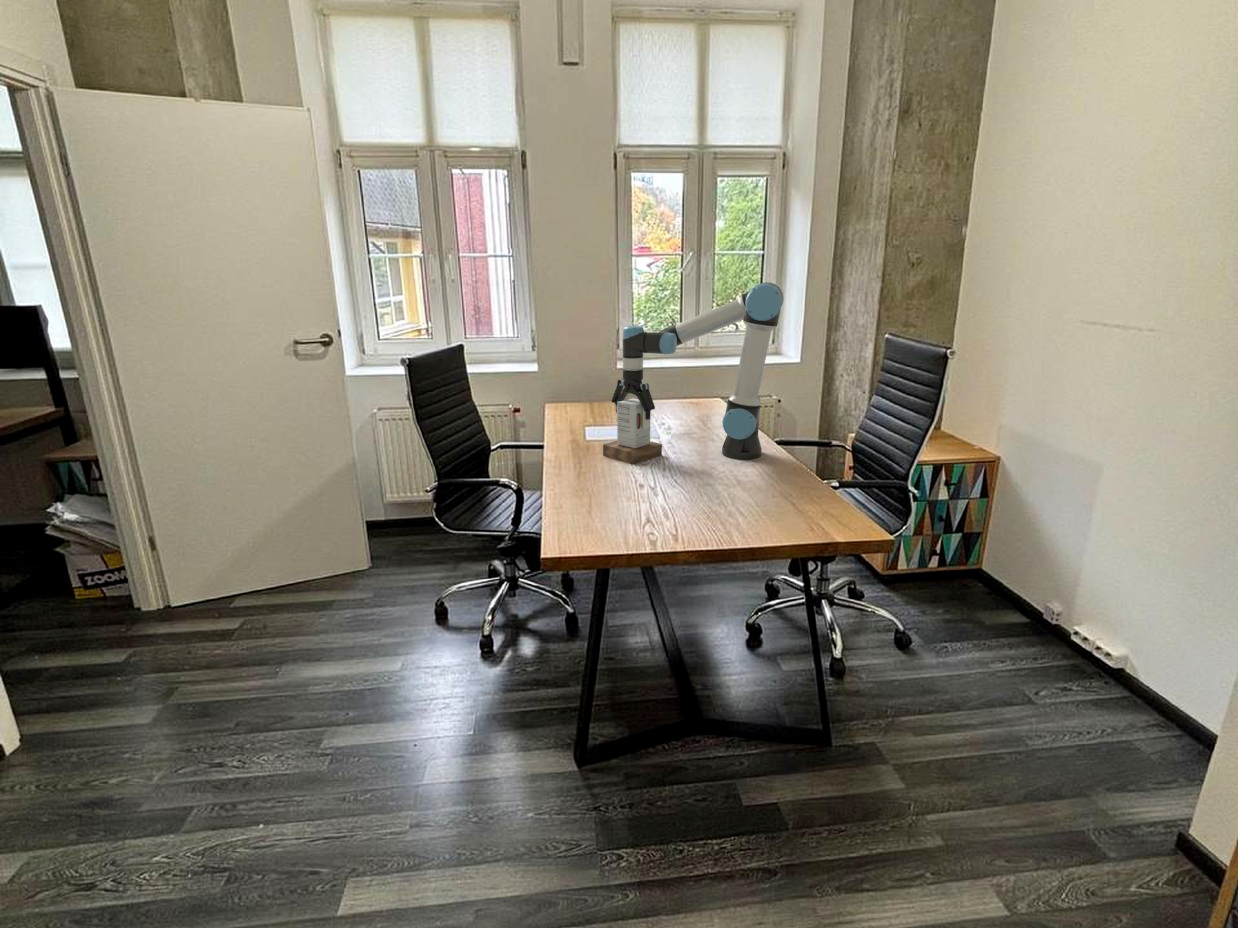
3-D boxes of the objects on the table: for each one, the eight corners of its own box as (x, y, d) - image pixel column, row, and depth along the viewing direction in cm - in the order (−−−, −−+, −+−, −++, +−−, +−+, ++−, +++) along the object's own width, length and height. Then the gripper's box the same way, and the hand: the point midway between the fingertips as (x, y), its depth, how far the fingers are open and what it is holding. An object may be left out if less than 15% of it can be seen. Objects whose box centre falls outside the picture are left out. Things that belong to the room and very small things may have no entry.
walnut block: (661, 456, 248) (661, 444, 247) (633, 465, 237) (633, 452, 236) (631, 448, 259) (631, 436, 258) (603, 456, 248) (603, 444, 247)
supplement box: (635, 449, 240) (635, 404, 235) (616, 445, 246) (616, 401, 241) (651, 443, 247) (651, 400, 242) (632, 439, 253) (632, 397, 248)
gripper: (665, 371, 232) (664, 428, 239) (616, 363, 249) (616, 417, 255) (651, 374, 227) (650, 432, 233) (602, 366, 244) (602, 420, 250)
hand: (632, 424), depth 244 cm, fingers open, 13 cm apart
